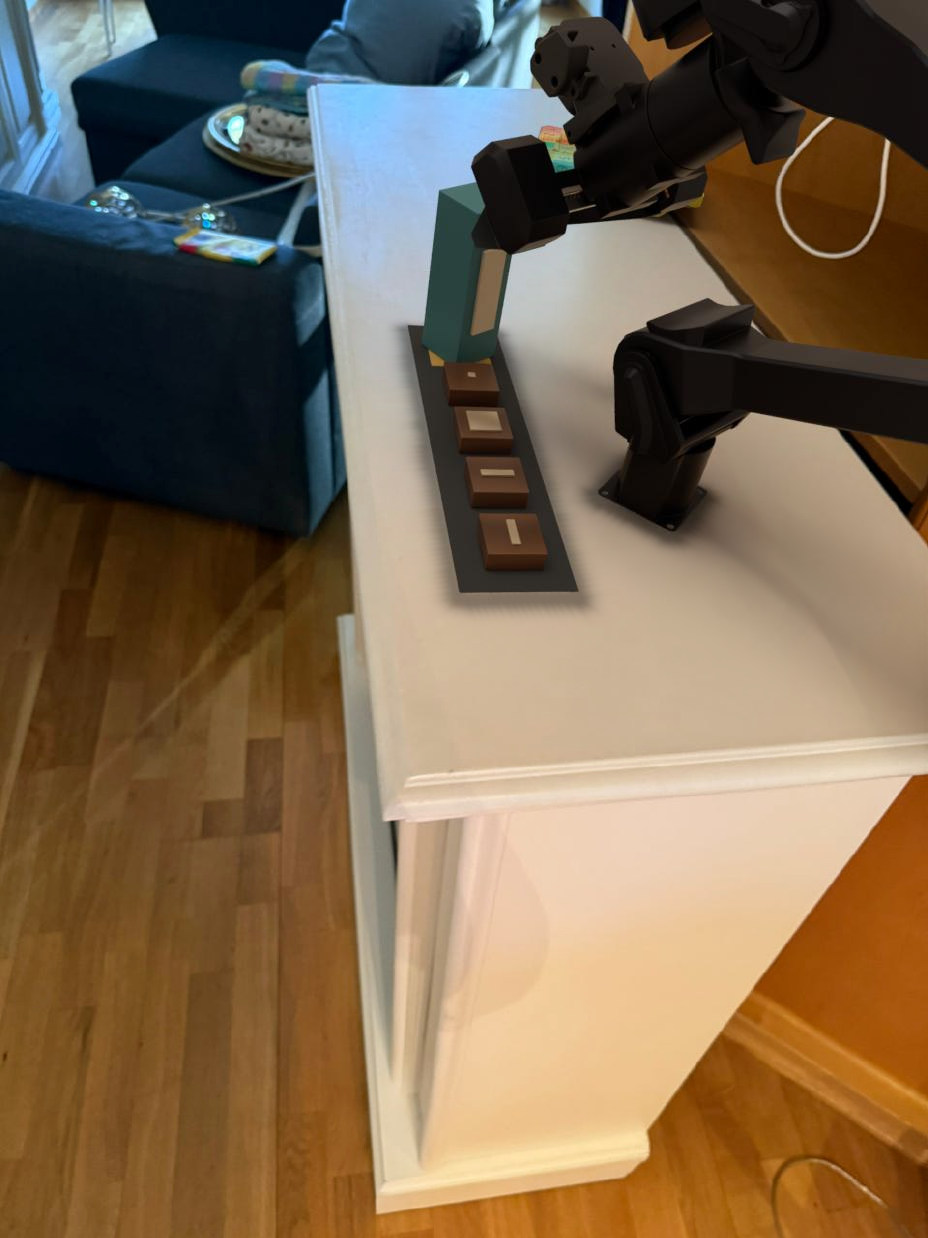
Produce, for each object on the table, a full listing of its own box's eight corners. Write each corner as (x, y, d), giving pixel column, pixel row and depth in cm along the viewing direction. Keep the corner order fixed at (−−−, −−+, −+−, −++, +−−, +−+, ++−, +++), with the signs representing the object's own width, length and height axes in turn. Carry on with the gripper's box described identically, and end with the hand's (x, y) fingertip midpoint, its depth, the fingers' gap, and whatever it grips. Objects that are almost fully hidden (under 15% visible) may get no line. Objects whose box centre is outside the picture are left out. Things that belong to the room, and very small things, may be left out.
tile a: (543, 570, 60) (548, 551, 59) (484, 570, 59) (488, 551, 58) (531, 529, 63) (536, 511, 61) (475, 529, 62) (479, 511, 61)
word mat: (577, 597, 59) (579, 590, 59) (458, 598, 58) (459, 591, 57) (494, 334, 81) (495, 328, 81) (406, 330, 80) (407, 323, 79)
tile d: (496, 407, 72) (500, 389, 71) (447, 405, 72) (450, 387, 70) (488, 379, 75) (492, 361, 74) (441, 377, 74) (443, 359, 73)
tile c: (510, 454, 68) (514, 436, 67) (458, 453, 67) (461, 435, 66) (501, 423, 71) (505, 405, 70) (451, 422, 70) (454, 404, 69)
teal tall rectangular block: (496, 357, 77) (524, 204, 68) (458, 371, 75) (480, 215, 66) (458, 329, 80) (479, 178, 70) (419, 342, 77) (436, 187, 68)
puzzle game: (543, 117, 109) (705, 151, 108) (535, 158, 112) (693, 191, 112) (531, 151, 101) (707, 188, 100) (524, 194, 104) (693, 229, 104)
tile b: (525, 508, 64) (530, 490, 63) (470, 508, 63) (474, 489, 62) (515, 473, 67) (519, 455, 66) (462, 472, 66) (465, 454, 65)
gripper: (730, -27, 57) (569, 103, 70) (520, -14, 47) (378, 134, 60) (783, 151, 59) (617, 245, 72) (593, 198, 49) (440, 298, 62)
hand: (520, 228), depth 66 cm, fingers open, 9 cm apart
